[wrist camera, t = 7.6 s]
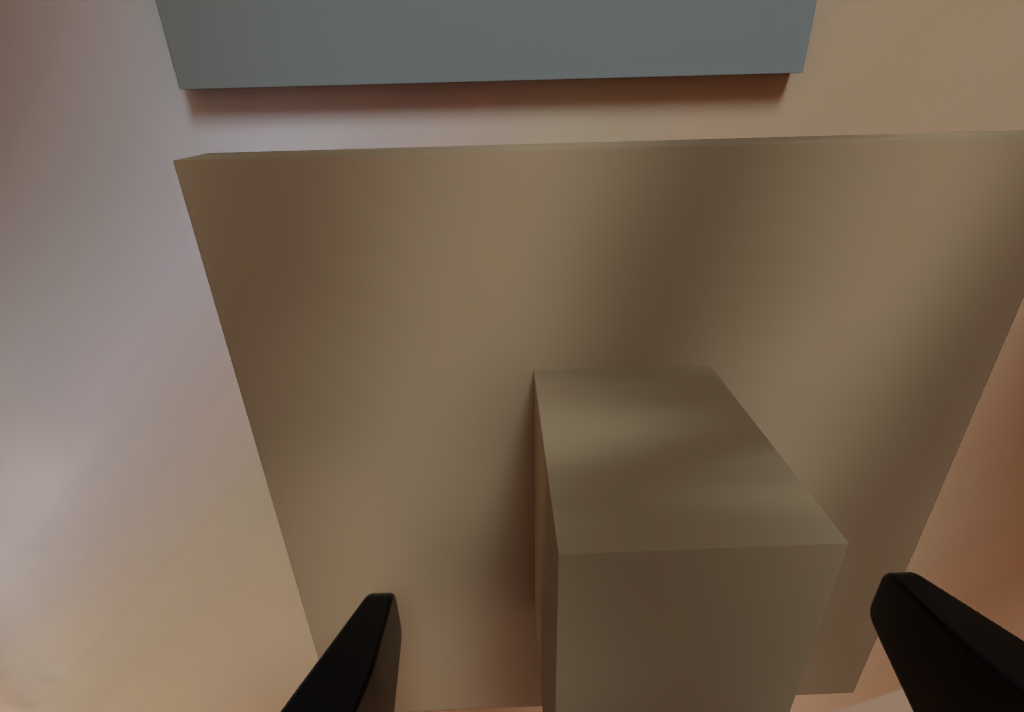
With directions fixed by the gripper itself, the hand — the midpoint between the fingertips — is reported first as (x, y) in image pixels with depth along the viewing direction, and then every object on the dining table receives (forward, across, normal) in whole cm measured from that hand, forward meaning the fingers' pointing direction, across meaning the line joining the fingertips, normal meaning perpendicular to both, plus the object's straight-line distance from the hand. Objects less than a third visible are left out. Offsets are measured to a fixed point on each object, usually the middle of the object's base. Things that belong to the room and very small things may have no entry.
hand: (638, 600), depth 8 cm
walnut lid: (+3, 0, 0) cm, 3 cm away
